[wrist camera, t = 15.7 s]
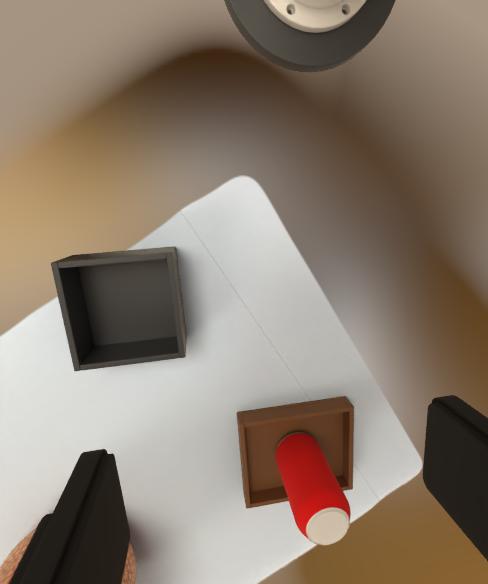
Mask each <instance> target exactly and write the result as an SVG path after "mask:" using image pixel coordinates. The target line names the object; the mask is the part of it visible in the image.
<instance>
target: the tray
mask: <svg viewBox="0 0 488 584" xmlns="http://www.w3.org/2000/svg"><path fill="white" fill-rule="evenodd" d="M237 422H238V433H239V444H240V456H241V467H242V479H243V490H244V497H245V503H246V508H253V507H258V506H263V505H269V504H274V503H280V502H285V501H289V500H288V496H287V493H286V490H285V487H284V484H283V481H282V478H281V475H280V472H279V469H278V465H277V462H276V456H275V455H276V449H277V446H278V444H279V443H280V441H281V440H282V439H283V438H284V437H286V436H287V435H289V434H292V433H296V432H302V433H306V434H309V435H310V436H312V437H313V438H314V439H315V440H316V442H317V443H318V445H319V447H320V449H321V451H322V453H323V455H324V457H325V458H326V460H327V462H328V464H329V466H330V468H331V470H332V472H333V474H334V476H335V477H336V479H337V481H338V483H339V485H340V487H341V489H342V491H344V490H348V489H349V490H350V489H353V429H354V407H353V405H352V404H351V403H350V402H349V400H348V399H347V398H346V397H345V396H344V397H337V398H330V399H324V400H317V401H310V402H304V403H297V404H290V405H283V406H277V407H270V408H263V409H256V410H250V411H243V412H237Z"/></svg>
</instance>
